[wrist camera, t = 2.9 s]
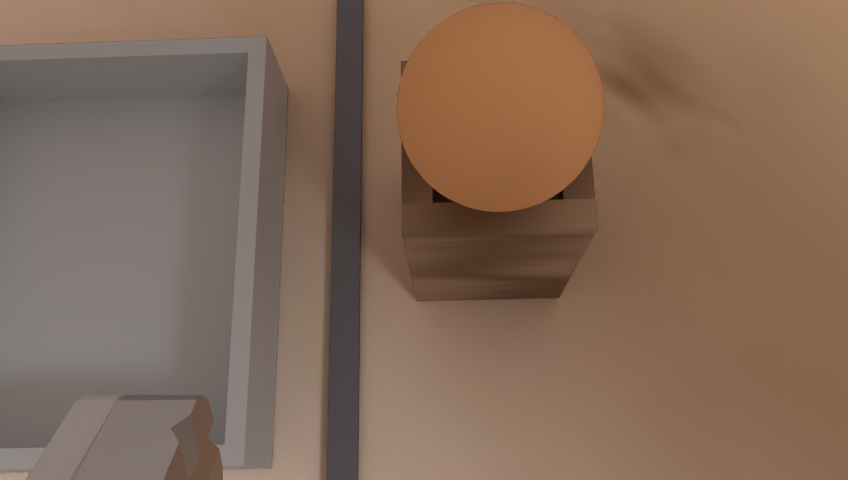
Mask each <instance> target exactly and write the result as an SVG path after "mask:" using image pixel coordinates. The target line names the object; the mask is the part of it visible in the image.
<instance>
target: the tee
mask: <svg viewBox="0 0 848 480" xmlns="http://www.w3.org/2000/svg"><path fill="white" fill-rule="evenodd" d="M407 62H408V61H401V77H402V74H403V71H404V69H405V66H406V64H407ZM596 230H597V216H596V205H595V193H594V181H593V169H592V158H590V159H589V161H588V162H587V164H586V166H585V167H584V169H583V170H582V171H581V173H580V174H579V175H578V176H577V177H576V178H575V180H573V181H572V182H571V183H570V184H569V185H568V186H567V187H566V188H564V189H563V190H562V191H561V192H559V193H558V194H556V195H555V196H553V197H552V198H550V199H548V200H546V201H544V202H542V203H540V204H537V205H535V206H532V207H529V208H525V209H520V210H516V211H507V212H488V211H482V210H476V209H473V208H469V207H466V206H463V205H461V204H458V203H456V202H454V201H452V200H450V199H448V198H446V197H445V196H443V195H441V194H440V193H439V192H437V191H436V190H435V189H434V188H432V187H431V186H430V185H429V184H428V183H427V182H426V181H425V180H424V179H423V178H422V177H421V175H420V174H419V173H418V171H417V170H416V169H415V167H414V166H413V165H412V163H411V161H410V159H409V157H408V156H407V154H406V151H405V149H404V146H403V143H402V234H403V239H404V244H405V249H406V253H407V258H408V263H409V268H410V272H411V277H412V282H413V286H414V291H415V296H416V301H432V300H477V299H522V298H559V296H560V294H561V293H562V291H563V289H564V287H565V285H566V284H567V282H568V280H569V278H570V276H571V275H572V273H573V271H574V269H575V267H576V266H577V264H578V262H579V260H580V258H581V257H582V255H583V253H584V251H585V249H586V248H587V246H588V244H589V242H590V240H591V239H592V237H593V235H594V233H595V231H596Z"/></svg>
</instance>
